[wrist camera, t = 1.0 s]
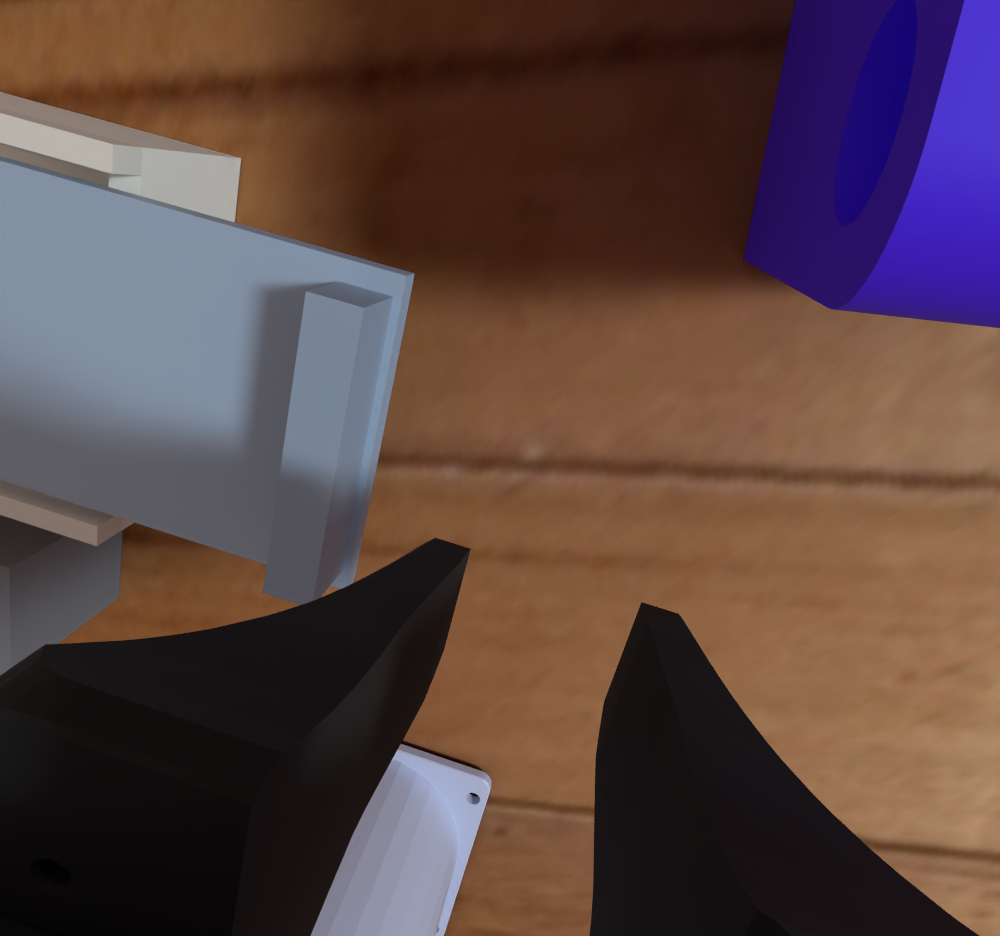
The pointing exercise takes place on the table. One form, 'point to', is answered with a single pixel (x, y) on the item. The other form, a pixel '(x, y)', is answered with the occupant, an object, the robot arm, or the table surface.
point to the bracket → (886, 160)
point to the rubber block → (50, 586)
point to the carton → (124, 166)
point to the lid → (194, 373)
